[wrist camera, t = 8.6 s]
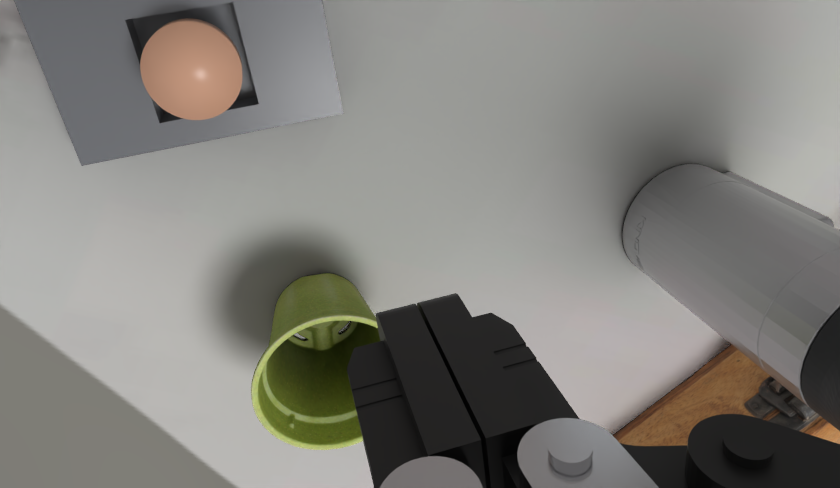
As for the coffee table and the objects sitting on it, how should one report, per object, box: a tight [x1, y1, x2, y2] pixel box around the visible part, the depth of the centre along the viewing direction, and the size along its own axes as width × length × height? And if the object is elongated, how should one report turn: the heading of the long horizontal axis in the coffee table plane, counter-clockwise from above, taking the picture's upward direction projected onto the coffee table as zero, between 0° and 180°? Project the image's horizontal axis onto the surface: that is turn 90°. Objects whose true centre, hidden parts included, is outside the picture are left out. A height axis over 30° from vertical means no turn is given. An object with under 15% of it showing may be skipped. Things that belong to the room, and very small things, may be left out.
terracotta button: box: [140, 18, 242, 120], centre depth 32 cm, size 5×5×4 cm
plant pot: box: [251, 273, 380, 450], centre depth 40 cm, size 9×9×9 cm
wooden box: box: [613, 344, 840, 446], centre depth 53 cm, size 30×16×14 cm, turn 126°
